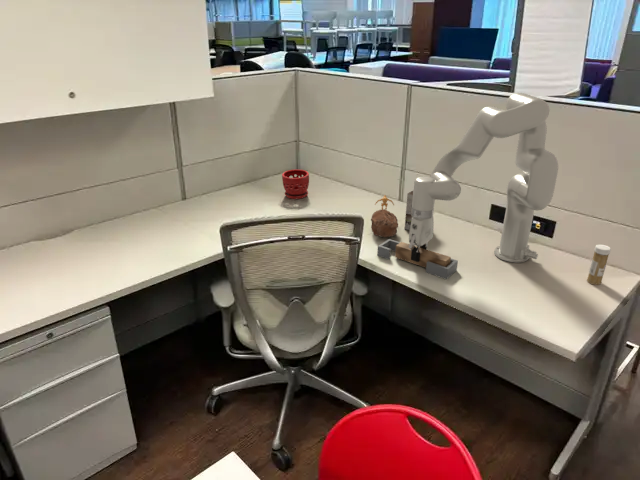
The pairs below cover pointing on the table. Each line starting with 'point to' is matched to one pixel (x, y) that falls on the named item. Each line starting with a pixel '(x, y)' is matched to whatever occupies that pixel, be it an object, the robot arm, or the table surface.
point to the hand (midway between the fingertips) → (418, 257)
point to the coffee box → (408, 210)
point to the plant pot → (296, 183)
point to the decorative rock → (384, 223)
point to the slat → (421, 256)
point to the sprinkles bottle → (598, 264)
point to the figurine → (384, 201)
